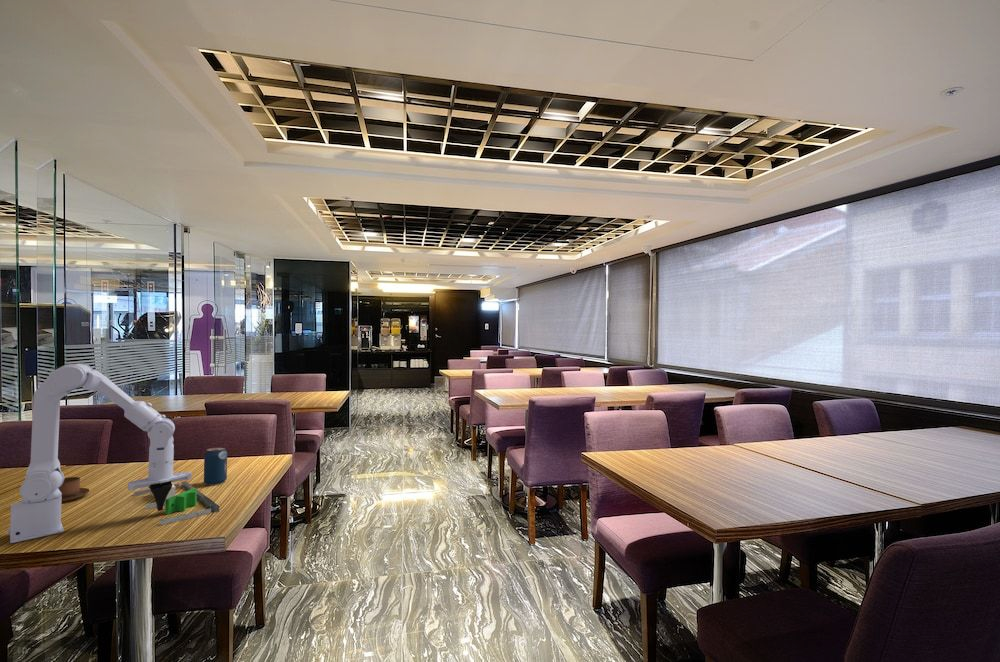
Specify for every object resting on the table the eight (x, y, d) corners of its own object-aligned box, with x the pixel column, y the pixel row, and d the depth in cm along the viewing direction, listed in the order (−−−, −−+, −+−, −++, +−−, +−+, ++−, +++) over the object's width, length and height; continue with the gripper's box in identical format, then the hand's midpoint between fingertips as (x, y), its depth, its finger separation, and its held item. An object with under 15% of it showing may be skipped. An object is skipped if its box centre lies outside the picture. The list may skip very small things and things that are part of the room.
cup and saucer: (36, 500, 144) (37, 480, 144) (87, 491, 152) (88, 472, 152) (36, 509, 135) (37, 488, 135) (90, 499, 144) (91, 480, 144)
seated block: (159, 502, 140) (160, 489, 141) (151, 494, 148) (152, 482, 148) (175, 499, 143) (175, 486, 144) (166, 491, 151) (167, 479, 151)
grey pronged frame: (160, 525, 123) (160, 519, 123) (134, 495, 148) (134, 490, 148) (219, 511, 133) (219, 506, 133) (185, 485, 158) (185, 481, 158)
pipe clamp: (176, 515, 130) (176, 500, 131) (165, 514, 131) (165, 499, 131) (203, 502, 141) (203, 488, 141) (192, 501, 141) (193, 487, 141)
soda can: (230, 482, 162) (231, 448, 162) (209, 487, 156) (210, 451, 156) (220, 479, 166) (221, 445, 166) (199, 483, 160) (200, 449, 160)
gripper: (131, 469, 123) (130, 520, 122) (194, 459, 133) (193, 506, 133) (127, 464, 128) (125, 513, 127) (188, 455, 138) (187, 500, 138)
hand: (160, 509), depth 130 cm, fingers closed
